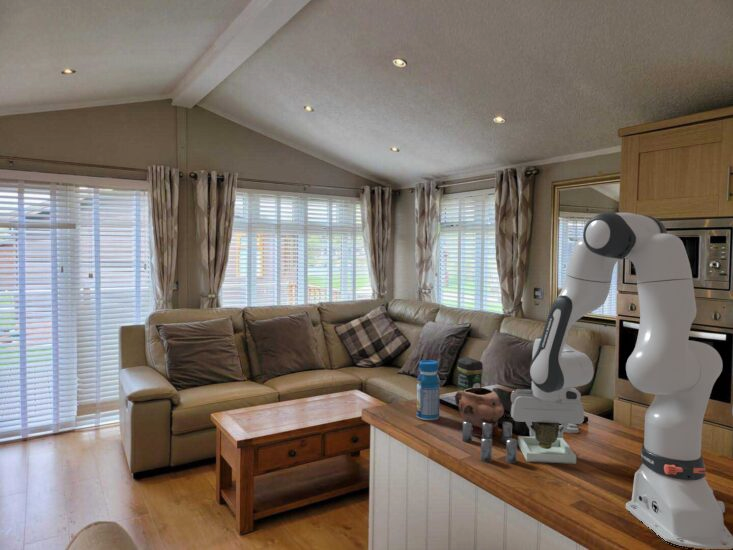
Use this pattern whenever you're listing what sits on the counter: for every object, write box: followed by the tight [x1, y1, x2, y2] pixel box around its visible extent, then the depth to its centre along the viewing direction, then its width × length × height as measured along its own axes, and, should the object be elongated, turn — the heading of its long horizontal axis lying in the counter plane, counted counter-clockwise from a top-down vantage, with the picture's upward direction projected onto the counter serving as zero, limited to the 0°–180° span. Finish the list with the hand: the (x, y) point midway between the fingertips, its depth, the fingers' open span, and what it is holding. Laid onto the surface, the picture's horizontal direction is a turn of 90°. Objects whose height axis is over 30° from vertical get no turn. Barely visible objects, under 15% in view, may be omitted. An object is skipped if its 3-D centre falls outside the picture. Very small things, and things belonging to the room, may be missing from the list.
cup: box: [532, 422, 560, 449], centre depth 147 cm, size 8×7×8 cm
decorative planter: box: [454, 387, 505, 437], centre depth 165 cm, size 20×12×14 cm, turn 41°
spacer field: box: [462, 420, 518, 464], centre depth 149 cm, size 17×15×6 cm
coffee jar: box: [457, 356, 484, 402], centre depth 192 cm, size 10×8×19 cm
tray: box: [517, 435, 577, 465], centre depth 148 cm, size 13×13×2 cm
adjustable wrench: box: [559, 424, 580, 434], centre depth 174 cm, size 25×6×2 cm, turn 50°
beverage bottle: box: [415, 359, 441, 421], centre depth 179 cm, size 8×8×20 cm
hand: (546, 436), depth 147 cm, fingers closed on cup, 6 cm apart
